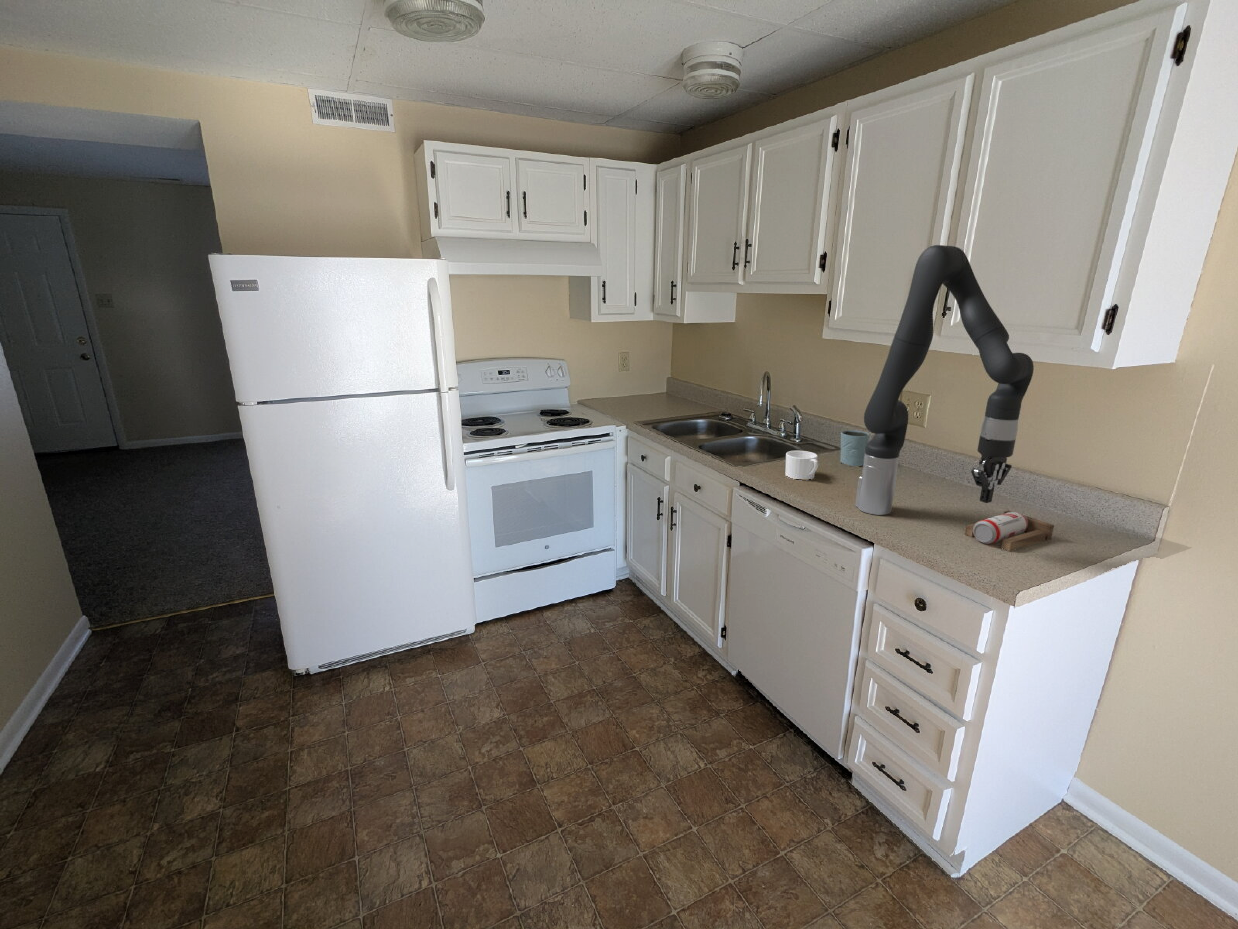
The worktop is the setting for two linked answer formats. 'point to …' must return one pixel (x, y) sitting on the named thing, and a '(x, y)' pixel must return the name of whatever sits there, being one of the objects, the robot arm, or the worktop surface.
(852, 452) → the teal cup
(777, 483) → the worktop surface
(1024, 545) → the cradle
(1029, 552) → the worktop surface
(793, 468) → the mug
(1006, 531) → the beer can
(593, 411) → the worktop surface
